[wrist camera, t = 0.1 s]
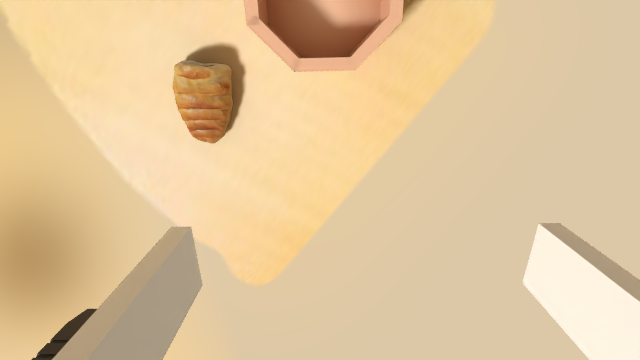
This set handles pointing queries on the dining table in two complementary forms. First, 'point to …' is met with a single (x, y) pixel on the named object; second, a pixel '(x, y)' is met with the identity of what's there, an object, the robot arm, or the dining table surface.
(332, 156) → the dining table surface
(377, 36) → the bowl
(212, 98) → the pastry
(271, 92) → the dining table surface
